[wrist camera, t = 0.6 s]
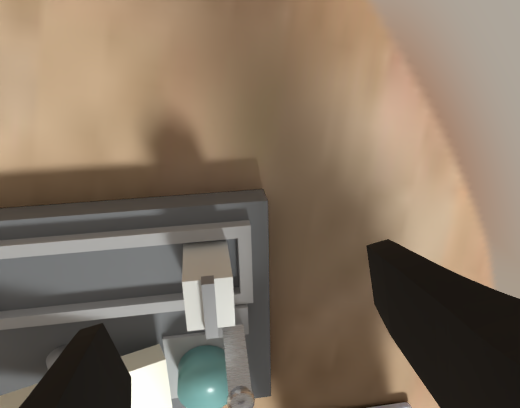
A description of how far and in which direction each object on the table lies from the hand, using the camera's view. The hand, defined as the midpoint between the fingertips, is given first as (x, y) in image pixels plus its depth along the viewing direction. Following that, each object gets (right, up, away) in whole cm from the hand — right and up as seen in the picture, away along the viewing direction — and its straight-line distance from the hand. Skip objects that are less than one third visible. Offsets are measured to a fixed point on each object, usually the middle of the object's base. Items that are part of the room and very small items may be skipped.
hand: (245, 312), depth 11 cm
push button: (-2, -6, +11) cm, 12 cm away
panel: (-7, -3, +11) cm, 13 cm away
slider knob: (-2, 0, +9) cm, 9 cm away
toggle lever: (-1, -3, +9) cm, 10 cm away
